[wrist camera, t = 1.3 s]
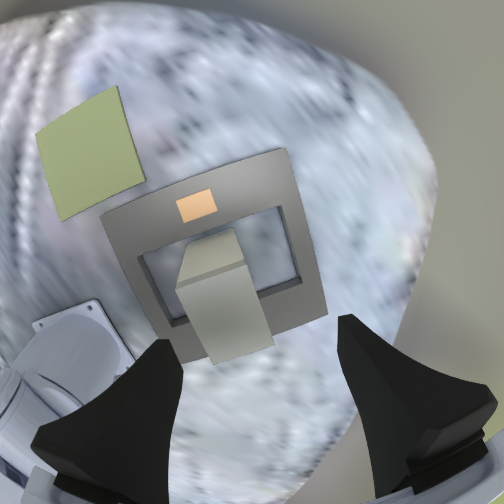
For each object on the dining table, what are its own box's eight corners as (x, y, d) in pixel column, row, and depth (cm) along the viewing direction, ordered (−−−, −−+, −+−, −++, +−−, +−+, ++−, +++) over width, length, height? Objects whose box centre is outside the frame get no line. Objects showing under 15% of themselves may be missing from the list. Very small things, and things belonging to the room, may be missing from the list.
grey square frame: (176, 357, 23) (175, 368, 21) (105, 213, 18) (97, 217, 17) (323, 307, 23) (330, 316, 22) (281, 148, 19) (287, 146, 17)
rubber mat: (63, 221, 18) (61, 222, 17) (37, 134, 15) (35, 134, 15) (146, 180, 18) (144, 180, 18) (117, 86, 15) (115, 85, 15)
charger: (210, 299, 22) (213, 364, 14) (187, 243, 20) (174, 289, 12) (253, 285, 22) (274, 344, 14) (232, 227, 20) (246, 264, 13)
